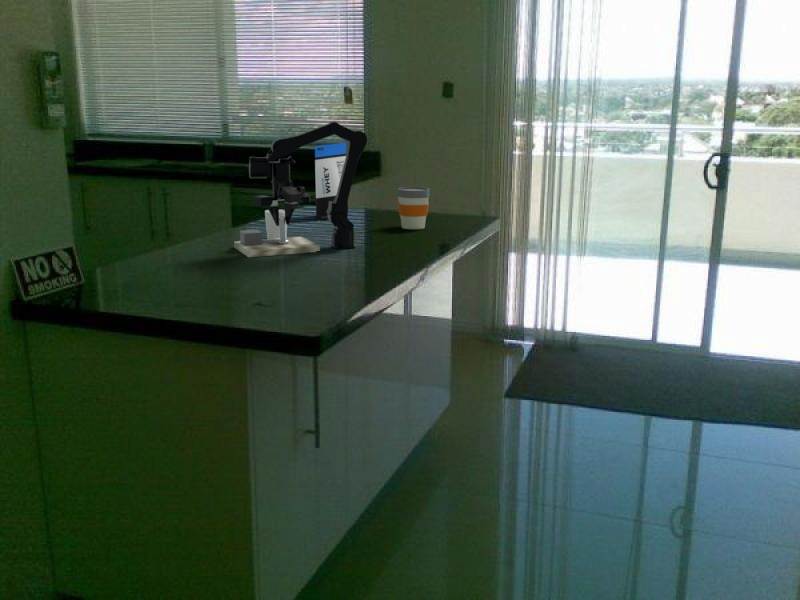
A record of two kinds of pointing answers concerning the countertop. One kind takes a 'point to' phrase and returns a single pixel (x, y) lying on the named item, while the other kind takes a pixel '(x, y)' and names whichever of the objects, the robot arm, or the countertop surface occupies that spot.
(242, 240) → the cover
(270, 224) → the white cup
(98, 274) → the countertop surface
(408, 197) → the reusable coffee cup
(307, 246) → the panel
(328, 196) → the protein powder
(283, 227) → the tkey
